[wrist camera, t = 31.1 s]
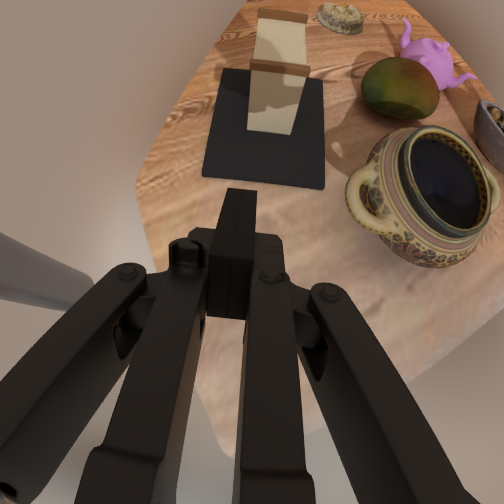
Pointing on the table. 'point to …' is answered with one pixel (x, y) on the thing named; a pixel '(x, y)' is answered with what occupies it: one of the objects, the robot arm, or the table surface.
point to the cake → (341, 18)
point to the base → (266, 143)
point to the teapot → (432, 58)
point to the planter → (490, 132)
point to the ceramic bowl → (424, 195)
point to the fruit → (400, 89)
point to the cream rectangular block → (276, 85)
